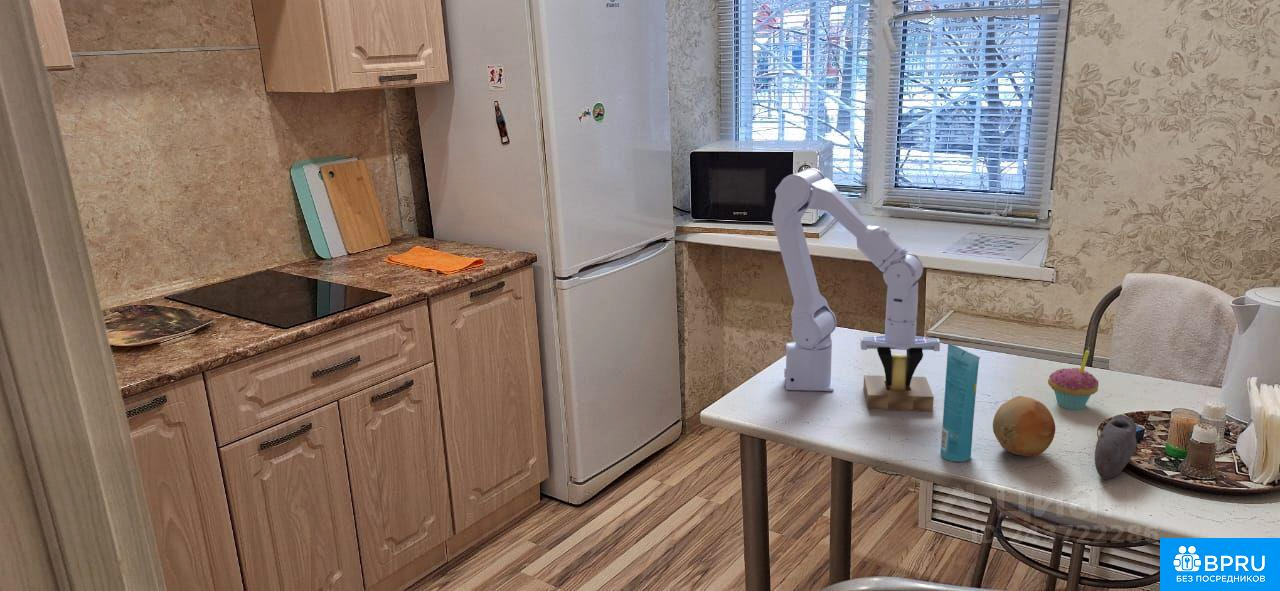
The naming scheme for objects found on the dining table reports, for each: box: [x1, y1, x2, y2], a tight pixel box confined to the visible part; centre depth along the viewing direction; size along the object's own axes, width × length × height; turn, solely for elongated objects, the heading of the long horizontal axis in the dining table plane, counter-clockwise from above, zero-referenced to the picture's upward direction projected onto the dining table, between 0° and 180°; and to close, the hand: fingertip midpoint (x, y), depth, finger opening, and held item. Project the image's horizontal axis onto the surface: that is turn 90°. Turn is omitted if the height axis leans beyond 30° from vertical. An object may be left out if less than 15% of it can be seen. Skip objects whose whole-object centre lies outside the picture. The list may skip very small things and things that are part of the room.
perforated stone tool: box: [1094, 414, 1138, 480], centre depth 142 cm, size 15×5×7 cm, turn 140°
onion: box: [992, 395, 1056, 457], centre depth 147 cm, size 10×10×10 cm
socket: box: [862, 374, 935, 412], centre depth 171 cm, size 12×10×3 cm
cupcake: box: [1047, 346, 1099, 411], centre depth 164 cm, size 9×8×12 cm
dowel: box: [890, 353, 908, 391], centre depth 170 cm, size 3×3×8 cm
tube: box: [940, 342, 981, 463], centre depth 146 cm, size 7×5×19 cm, turn 26°
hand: (897, 383), depth 170 cm, fingers closed on dowel, 3 cm apart
